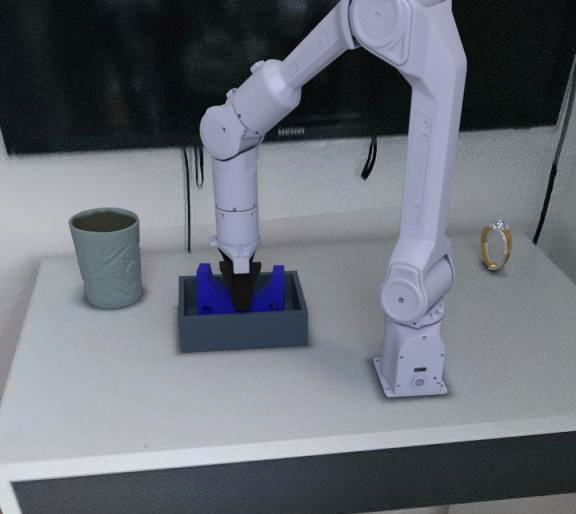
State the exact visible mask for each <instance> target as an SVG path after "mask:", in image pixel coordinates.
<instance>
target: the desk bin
mask: <svg viewBox="0 0 576 514" xmlns="http://www.w3.org/2000/svg"><path fill="white" fill-rule="evenodd" d="M213 275H214V277H215V278H216V280H217V281H218V282H219V283H220V284H221V285H222V286H223V287H225V288H226V289H228V290H229V287H228V284H227V282H226V280H225V278H224V276H223V275H222V273H217V274H214V273H213ZM271 277H272V271H260V273H259V275H258V277H257V279H256V282H255V285H254V289H253V293H254V292H256V291H259V290H260V289H262V288H263V287H264V286H265V285H266V284H267V283H268V282H269V280H270V279H271ZM284 278H285V307H284V311H271V312H252V313H233V314H214V315H198V310H197V299H196V297H197V294H198V286H197V275H179V276H178V300H177V301H178V304H177V305H178V306H177V307H178V309H177V310H178V314H177V321H178V330H179V339H180V340H179V341H180V347H181V353H196V352H197V353H198V352H216V351H234V350H235V351H236V350H250V349H251V350H252V349H267V348H268V349H269V348H286V347H287V348H288V347H303V346H304V347H305V346H308V343H309V310H308V307H307V303H306V299H305V295H304V292H303V288H302V284H301V280H300V276H299V273H298V270H284Z"/></svg>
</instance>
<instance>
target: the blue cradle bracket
mask: <svg viewBox="0 0 576 514" xmlns="http://www.w3.org/2000/svg"><path fill="white" fill-rule="evenodd" d="M211 265H212V264H211V263H210V262H199V264H198V267H197V269H196V271H195V274H196V275H197V286H198V294H197V297H196V299H197V310H198V315H214V314H233V313H252V312H271V311H284V307H285V278H284V271H285V265H284V264H273V267H272V271H271V272H272V277H271V279H270V280H269V282H268V283H267V284H266V285H265V286H264V287H263V288H262V289H260V290H259V291H256V292H254V293H253V296H252V302H251V307H250V310H247V311H235V309H234V306H233V303H232V298H231V294H230V290H228V289H226V288H225V287H223V286H222V285H221V284H220V283H219V282H218V281H217V280H216V278H215V277H214V273H213V270H212V266H211Z"/></svg>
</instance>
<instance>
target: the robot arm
mask: <svg viewBox="0 0 576 514" xmlns="http://www.w3.org/2000/svg"><path fill="white" fill-rule="evenodd" d="M452 1H453V0H339V1H338V3H337V4H336V5H335V6H334V7H333V8H332V9H331V10H330V11H329V13H328V14H327V15H325V17H324V18H323V19H322V20H321V21H320V22H319V23H318V24H317V25H316V26H315V27H314V28H313V29H312V30H311V31H310V32H309V34H308V35H306V36H305V37H304V38H303V40H302V41H300V43H299V44H298V45H297V46H296V47H295V48H294V49H293V50H292V51H291V52H290V53H289V54H288V56H287V57H286V58H284V60H279V59H273V58H272V59H266V61H264V59H263V60H260V61H257V62H255V63H253V65H252V66H250V73H251V75H250V76H249V77H248V78H246V80H245V81H244V82H243V83H241V85H240V86H239V87H238V88H236V87H234V88H231V89H229V91H228V92H226V98H227V99H226V101H225V103H224V104H222V105H213V106H210V107H208V108H207V109H206V111H205V114H204V115H203V116H202V118H201V121H200V123H199V136H200V140H201V143H202V144H203V147H204V148H205V150H206V151H207V152H208V154H209V155H210V157H211V159H210V160H211V172H212V173H211V174H212V183H213V184H212V186H213V187H212V190H213V203H214V212H215V213H214V215H215V217H214V218H215V230H216V234H215V235H209V236H207V237H208V238H207V239H208V246H209V247H217V250H218V252H219V253H220V255H221V257H222V259H223V260H218V266H219V267H218V268H219V271H220V274H222V275H223V276H224V278H225V280H226V282H227V284H228V287H229V290H230V294H231V298H232V303H233V306H234V309H235V311H247V310H250V307H251V302H252V296H253V289H254V285H255V282H256V279H257V277H258V275H259V273H260V272H262V269H263V268H262V261H254V259H255V258H254V257H255V255H256V252H257V250H258V248H259V247H260V245H261V243H262V238H261V235H260V219H259V217H260V216H259V192H258V191H259V187H258V159H259V148H260V146H261V144H262V143H263V142H264V139H265V136H266V133H268V132H269V131H270V130H271V129H273V128H274V127H275V126H276V125H277V124H278V123H279V122H281V121H282V120H283V119H284V118H285V117H286V116H287V115H289V114H290V113H291V112H293V110H295V108H297V107H298V106H299V104H300V102H301V98H302V87H303V86H304V85H305V84H307V83H308V82H309V81H310V80H312V79H313V78H314V77H315V76H316V75H317V74H319V73H320V72H322V70H324V69H325V68H326V67H328V66H329V65H330V64H331V63H332V62H334V61H335V60H336V59H337V58H339V57H340V56H341V55H342V54H343V53H345V52H346V51H348V50H355V49H358V48H360V47H362V48H364V49H365V50H366V51H368V52H369V53H370V54H372V55H374V56H375V57H377V58H379V59H380V60H382V61H384V62H385V63H387V64H388V65H391V66H392V67H394V68H395V69H396V70H397V71H398V72H399V73H400V74H401V75H402V76H403V78H404V79H405V80H406V81H407V83H408V84H409V86H411V98H410V99H411V100H410V110H409V111H410V112H409V122H408V135H407V143H406V155H405V167H404V179H403V190H402V200H401V213H400V221H399V232H398V233H399V234H398V239H397V240H396V244H395V246H394V248H393V250H392V253H391V254H390V257H389V260H388V265H387V271H386V272H387V273H386V275H385V277H384V279H383V280H382V281H381V284H380V286H379V288H378V302H379V305H380V308H381V310H382V311H383V313H384V326H383V337H382V347H381V348H382V350H381V356H375V357H373V358H372V362H373V365H374V369H375V372H376V373H377V376H378V379H379V382H380V384H381V388H382V390H383V393H384V396H385V397H386V398H402V397H403V398H404V397H419V396H435V395H437V396H438V395H446V394H447V393H448V388H447V386H446V384H445V382H444V379H443V373H444V367H445V361H446V351H447V350H446V346H445V343H444V340H443V338H442V329H443V322H444V315H445V303H444V295H446V294H447V293H448V292H449V291H450V290H451V289H452V288H453V286H454V285H455V280H456V268H455V265H454V261H453V259H452V258H453V257H452V249H453V242H452V241H451V240H450V239H449V238H448V237H447V236H446V233H447V223H448V217H449V209H450V208H449V207H450V201H451V193H452V187H453V186H452V185H453V179H454V178H453V177H454V170H455V163H456V154H457V149H458V147H457V146H458V139H459V131H460V124H461V116H462V108H463V101H464V93H465V86H466V77H467V70H468V69H467V67H468V65H467V64H468V60H467V56H466V53H465V50H464V46H463V43H462V40H461V37H460V34H459V30H458V27H457V24H456V21H455V17H454V14H453V11H452V6H453V5H452V4H453V3H452Z"/></svg>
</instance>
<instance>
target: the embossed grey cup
mask: <svg viewBox="0 0 576 514" xmlns="http://www.w3.org/2000/svg"><path fill="white" fill-rule="evenodd" d="M68 228H69V231H70V235H71V238H72V242H73V247H74V251H75V255H76V259H77V265H78V268H79V273H80V276H81V279H82V281H83V288H84V289H83V290H84V293H85V297H86V300H87V301H88V303H89V304H90V305H92V306H94V307H96V308H100V309H111V310H112V309H120V308H126V307H129V306H131V305H133V304H135V303H137V302H138V301H140V299H141V297H142V296H143V282H142V260H141V259H142V254H141V247H140V241H141V237H140V235H141V230H140V218H139V215H138V214H137V213H136V212H134V211H132V210H129V209H125V208H120V207H96V208H90V209H85V210H82V211H80V212H77V213H75V214H73V215H72V216H71V217H69V220H68Z"/></svg>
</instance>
